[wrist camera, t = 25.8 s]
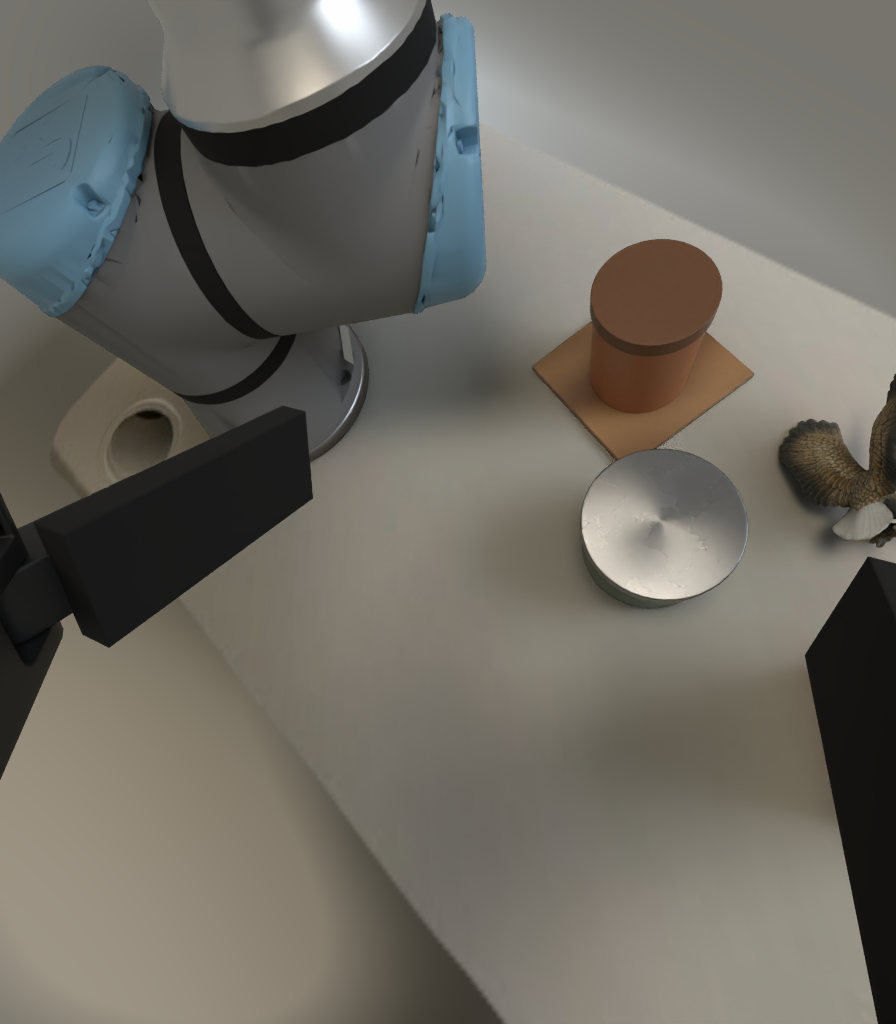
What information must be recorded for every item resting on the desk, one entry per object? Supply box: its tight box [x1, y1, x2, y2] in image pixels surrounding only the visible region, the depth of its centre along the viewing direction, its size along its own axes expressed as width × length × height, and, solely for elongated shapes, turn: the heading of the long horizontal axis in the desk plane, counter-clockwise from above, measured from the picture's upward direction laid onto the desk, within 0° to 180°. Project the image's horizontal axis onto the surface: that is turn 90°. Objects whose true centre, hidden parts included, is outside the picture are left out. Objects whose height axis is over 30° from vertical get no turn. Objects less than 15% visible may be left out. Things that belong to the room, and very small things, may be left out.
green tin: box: [580, 449, 748, 609], centre depth 32 cm, size 9×9×7 cm
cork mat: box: [532, 321, 754, 460], centre depth 38 cm, size 11×11×1 cm
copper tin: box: [590, 239, 722, 413], centre depth 34 cm, size 7×7×9 cm
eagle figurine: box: [780, 374, 896, 548], centre depth 31 cm, size 8×7×9 cm
